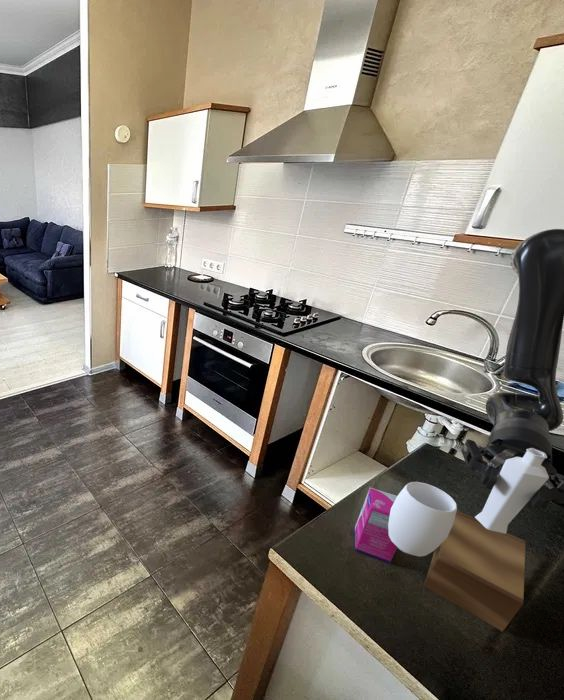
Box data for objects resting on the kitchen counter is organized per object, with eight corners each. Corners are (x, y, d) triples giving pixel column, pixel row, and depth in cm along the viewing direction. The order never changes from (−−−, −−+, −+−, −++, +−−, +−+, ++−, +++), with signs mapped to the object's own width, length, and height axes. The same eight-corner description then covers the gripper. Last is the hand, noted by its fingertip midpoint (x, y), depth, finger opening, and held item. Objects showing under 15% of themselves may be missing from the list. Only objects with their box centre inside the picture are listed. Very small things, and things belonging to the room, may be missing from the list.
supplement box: (352, 528, 77) (369, 485, 72) (387, 541, 74) (407, 498, 69) (353, 550, 72) (371, 506, 67) (390, 565, 69) (412, 520, 65)
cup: (360, 559, 70) (397, 473, 62) (408, 576, 67) (453, 488, 59) (365, 593, 64) (406, 503, 56) (417, 613, 61) (469, 522, 53)
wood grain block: (438, 533, 76) (451, 508, 73) (507, 567, 69) (525, 541, 66) (423, 586, 66) (438, 558, 63) (502, 632, 59) (523, 604, 56)
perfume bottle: (498, 539, 59) (548, 466, 53) (467, 516, 63) (510, 446, 57) (518, 532, 60) (569, 460, 54) (486, 510, 64) (530, 441, 58)
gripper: (474, 411, 70) (461, 451, 60) (592, 447, 61) (602, 503, 50) (458, 443, 74) (443, 486, 63) (568, 482, 64) (573, 541, 53)
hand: (514, 493), depth 57 cm, fingers closed on perfume bottle, 4 cm apart
